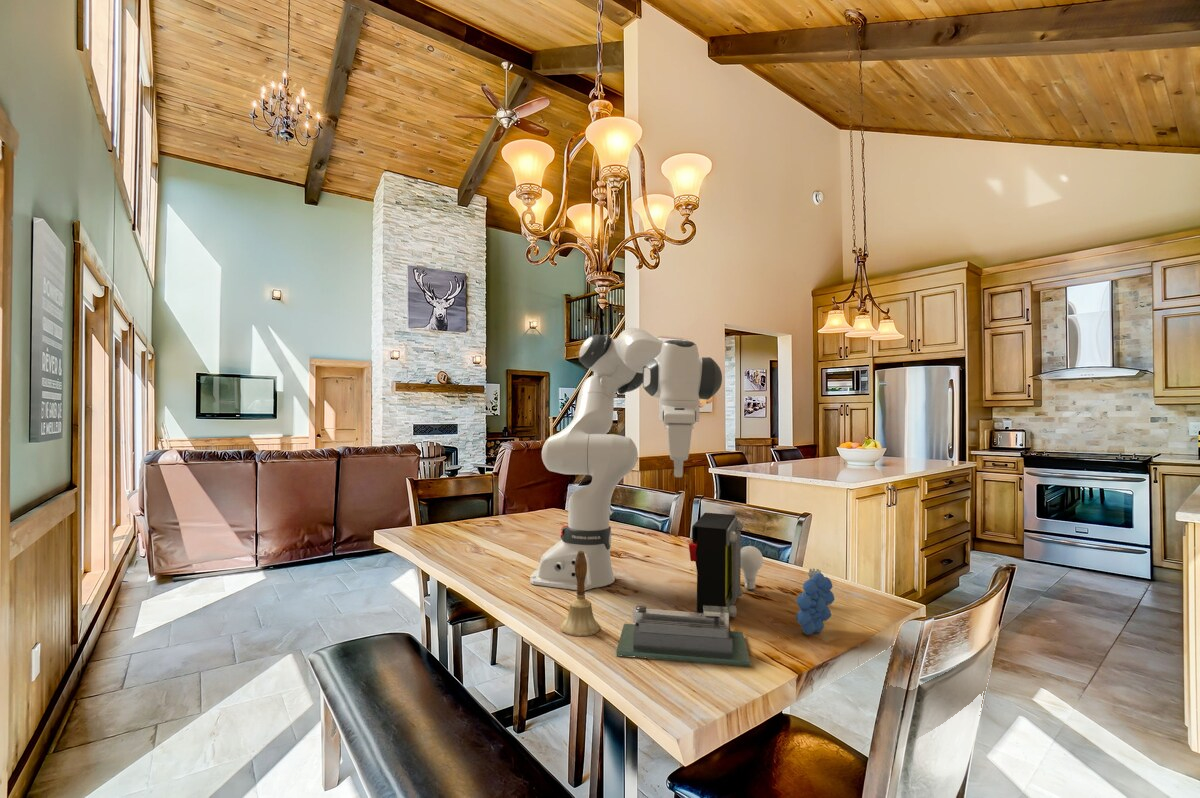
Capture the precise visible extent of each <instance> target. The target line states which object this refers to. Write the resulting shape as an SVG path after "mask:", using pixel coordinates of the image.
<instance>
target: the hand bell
mask: <svg viewBox="0 0 1200 798" xmlns="http://www.w3.org/2000/svg"><path fill="white" fill-rule="evenodd" d="M586 573H587V561H586V558H585V555H584V551H578V554H577V557H576V560H575V575H576V579H577V590H576V598H575V599H573V600H571V601H570V603H569V609H568V613H567V616H566V619H565V620H564V621H562V623H561V624H560V626H559V627H560V628H561V629H560V631H561V630H562V631H563V632H565V633H568V634H571V635H575V636H574V637H588V636H587V635H589V636H592V635H591V634H593V635H595V634H594V633H596V632H597V633H598V632H599V631H600V630H601V625H600V623H599V622H597V621H596V619H595V616H594V615H593V614H594V613H593V609H592V607H593V605H592V603H591V601H590V600H589V599H587V598H586V594H585V593H586V592H585V591H586V590H585V586H584V582H585V577H586ZM562 631H561V632H562ZM563 632H562V633H563ZM565 633H564V634H565ZM597 633H596V634H597ZM568 634H567V635H568ZM571 635H570V636H571Z"/></svg>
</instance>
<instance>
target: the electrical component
mask: <svg viewBox="0 0 1200 798" xmlns="http://www.w3.org/2000/svg"><path fill="white" fill-rule="evenodd" d="M743 529H744V521H743V520H741V519H740V520H738V516H737V515H735V514H730V513H729V514H726V513H715V512H714V513H713V512H704V513H703V514H702V515H701V516H700V517H699V518H698V520H696V522H695V523H694V524H693V525H692V528H691V539H692V540H691V541H692V543H691V542H690V543H688V551H689V558H690V561H691V562H695V567H696V613H704V612H703V605H705V606H720V607H728V612H729V618H730V617H735V618H736V616H737V613H738V609H737V607H736V605H735V604H736V603H737V599H738V597H741V598H742V597H743V595H744V590H743V589H744V588H743V586H741V577H742V576H741V575H742V574H741V571H742V569H741V549H742V546H741V545H742V544H741V542H742V541H741V539H742V538H741V537H742V535H741V533H742V532H741V531H743ZM714 618H719V617H717V616H714Z"/></svg>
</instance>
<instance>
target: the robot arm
mask: <svg viewBox="0 0 1200 798" xmlns="http://www.w3.org/2000/svg"><path fill="white" fill-rule="evenodd" d="M699 356H700V355H699V349H698V345H697V344H696V343H695V342H694V341H690V340H682V339H670V340H669V339H668V340H666V341H663V340H661V339H659V338H657V337H655V336H654V335H652V334H650V333H649V332H648V331H647V330H643V329H641V328H637V327H629V328H626V329H624V330H623V331H621V332H620V333H619V335H618V336H617V337H616V338H612V337H610V334H609V333H606V334H604V335H603V334H593V335H590V336H588V338H587V339H585V341H583V343H582V345H581V346H580V348H579V352H578V361H579V362H580V363H581V365H582V366H583V367H585V368H586V369H588V370H590V371H592V372H593V373H594V374H595V375H591V376H589V377H586V379H585V380H584V381H583V382H582V385H581V387H580V389H579V392H578V395H577V399H576V403H575V404H576V405H575V412H574V415H573V417H572V420H571V422H569V424H568V425H567V426H566V427H565V428H564V429H562V430H560V431H559V432H557V433H555V434H553V435H550V436H549V437H548V438H547V439H546V440H545V442H544V444H543V446H542V449H541V459H542V462H543V465H544V466H545V468H546V470H548V471H549V472H553V473H556V474H557V473H558V474H562V475H575V476H576V475H577V476H578V475H579V476H580V475H581V476H582V475H583V476H585V475H586V476H591V482H590V483H589V484H587V485H584V486H583V487H581V488H579V489H577V490H576V491H574V492H573V493H571V495H570V496H569V498H568V504H567V505H568V506H567V507H568V511H567V515H568V519H567V520H568V522H567V523H564V525H562V527H561V529H560V532H559V533H560V534H559V536H560V540H559V541H557V542H556V543H555V544H554V545H553V546H551V547H550V548H548V549H547V550H546V551H545V552H544V553H543V555H541V558H540V561H539V565H538V568H537V569H535V570H534V571H533V572H532V573H531V574H530V576H529V577H530V578H529V582H530V584H532V585H536V586H541V587H542V586H543V587H549V588H557V589H566V590H573V591H577V579H576V575H575V560H576V557H577V554H578V551H584V555H585V558H586V561H587V573H586V577H585V582H584V586H585V591H587V590H591V589H594V588H601V587H605V586H608V585H612V584H613V583H614V582H615V580H616V578H615V574H614V570H613V566H612V559H611V547H612V527H611V526H610V516H611V515H610V514H611V513H610V512H611V503H612V502H611V501H612V498H613V494H614V491H615V489H616V487H617V485H618V484H619V482H620V481H621V480H622V479H623V478H624V477H625V476H627V475H628V474H629V473H631V472H632V470H634V468H635V467H636V465H637V462H638V459H639V457H638V455H639V453H638V448H637V445H636V443H635V442H634V441H633V439H632V438H631V437H628V436H623V435H619V434H616V433H615V434H614V433H609V432H610V430H611V428H612V426H613V420H614V418H613V417H614V407H615V406H614V405H615V394H616V393H617V394H620V395H623V394H626V393H630V392H633V391H635V390H638V389H639V388H640V386H641V385H642V388H643V389H644V390H645V392H646V393H648V395H650V396H651V397H654V398H658V421H659V422H662V423H664V429H665V430H666V434H667V442H668V453H669V458H670V460H672V461H673V469H674V470H673V474H674V475H673V476H674V478H682V477H683V475H684V473H683V472H684V470H683V469H684V461H688V458H689V455H690V450H691V441H692V433H693V429H694V424H696V423H698V422H700V409H701V408H700V401H701V400H706V401H707V400H710V399H711V398H713V396H714V395H716V394H717V392H719V390H720V388H721V386H722V381H723V375H722V370H721V368H720V366H719V364H718V363H717V362H716V361H715V359H713V358H712V357H709V356H708V357H706V356H705V357H699ZM608 433H609V434H608Z"/></svg>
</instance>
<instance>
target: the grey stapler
mask: <svg viewBox="0 0 1200 798" xmlns="http://www.w3.org/2000/svg"><path fill="white" fill-rule="evenodd" d="M703 612H704V616H717V617H719V618H714V624H700V623H685V622H671V621H656V620H642V619H640V621H639V623H623V626H622V629H621V633H620V637H619V641H618V644H617V647H616V652H615V653H616V654H615V655H622V656H635V657H646V658H655V659H654V660H658V659H661V661H674V662H685V663H686V662H687V663H696V664H697V663H698V664H710V665H722V666H732V667H733V666H735V667H736V666H737V667H746V668H747V667H748V668H749V667H750V668H751V659H750V654H749V651H748V648H747V644H746V639H745V636H744V632H743V631H735V630H734V631H733V630H731V626H730V617H729V612H728V607H720V606H705V605H703ZM646 658H645V659H646Z"/></svg>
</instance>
